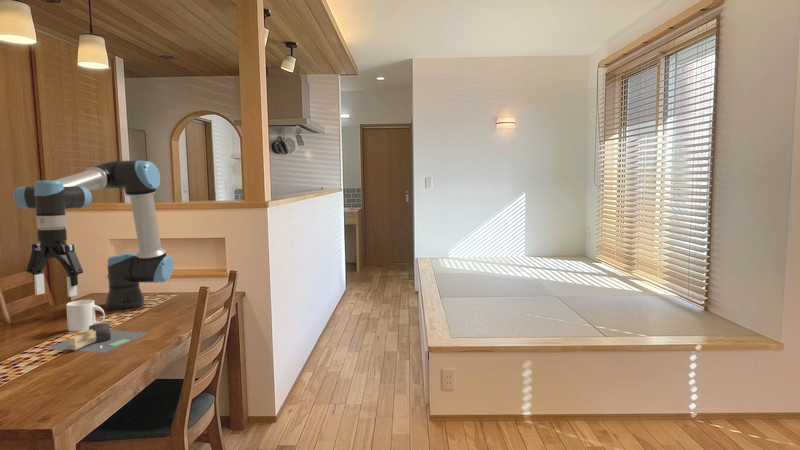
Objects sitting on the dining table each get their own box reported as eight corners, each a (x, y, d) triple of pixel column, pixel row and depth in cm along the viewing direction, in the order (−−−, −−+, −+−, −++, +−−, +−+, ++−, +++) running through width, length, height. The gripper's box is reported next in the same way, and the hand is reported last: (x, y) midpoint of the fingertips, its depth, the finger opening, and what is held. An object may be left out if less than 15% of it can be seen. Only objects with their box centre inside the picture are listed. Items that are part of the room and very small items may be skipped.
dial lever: (100, 336, 165) (99, 322, 164) (114, 337, 164) (114, 323, 163) (61, 351, 150) (60, 336, 150) (77, 352, 149) (76, 337, 149)
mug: (101, 332, 173) (99, 304, 172) (64, 335, 170) (62, 306, 169) (109, 325, 182) (107, 298, 180) (73, 328, 178) (71, 300, 177)
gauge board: (97, 332, 173) (97, 328, 173) (149, 336, 169) (149, 332, 169) (46, 351, 154) (46, 347, 154) (104, 356, 150) (104, 352, 149)
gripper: (9, 229, 150) (14, 295, 152) (73, 230, 145) (77, 299, 147) (32, 226, 157) (36, 290, 159) (93, 228, 152) (97, 293, 154)
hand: (56, 294), depth 153 cm, fingers open, 12 cm apart
